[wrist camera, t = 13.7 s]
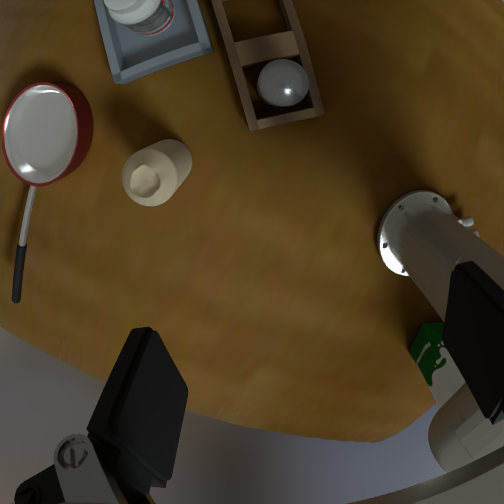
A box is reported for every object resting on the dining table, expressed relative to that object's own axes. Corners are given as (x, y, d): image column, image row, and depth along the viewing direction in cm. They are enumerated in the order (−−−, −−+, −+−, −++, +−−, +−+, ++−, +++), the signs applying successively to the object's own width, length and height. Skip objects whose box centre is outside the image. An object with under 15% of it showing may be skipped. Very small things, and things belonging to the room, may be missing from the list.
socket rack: (260, -69, 21) (261, -78, 19) (319, 114, 32) (324, 115, 30) (193, -55, 22) (190, -64, 20) (249, 130, 33) (249, 131, 31)
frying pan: (76, 299, 44) (59, 324, 38) (16, 274, 42) (-4, 294, 36) (106, 89, 30) (81, 88, 25) (30, 78, 28) (1, 79, 23)
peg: (290, 65, 30) (302, 55, 23) (299, 101, 32) (314, 101, 25) (251, 74, 30) (252, 65, 23) (261, 110, 32) (265, 111, 25)
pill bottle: (185, 11, 26) (164, -17, 17) (152, 44, 28) (120, 27, 19) (154, -11, 24) (125, -41, 16) (122, 22, 26) (84, 2, 17)
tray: (185, -41, 23) (180, -50, 20) (214, 51, 29) (211, 47, 26) (101, -7, 24) (91, -13, 21) (124, 84, 30) (114, 83, 28)
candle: (152, 134, 33) (120, 146, 24) (197, 143, 34) (179, 157, 25) (144, 179, 36) (113, 205, 27) (187, 188, 36) (168, 217, 27)
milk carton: (439, 352, 50) (481, 430, 33) (402, 356, 50) (441, 444, 32) (456, 316, 47) (511, 395, 29) (419, 318, 46) (472, 409, 28)
